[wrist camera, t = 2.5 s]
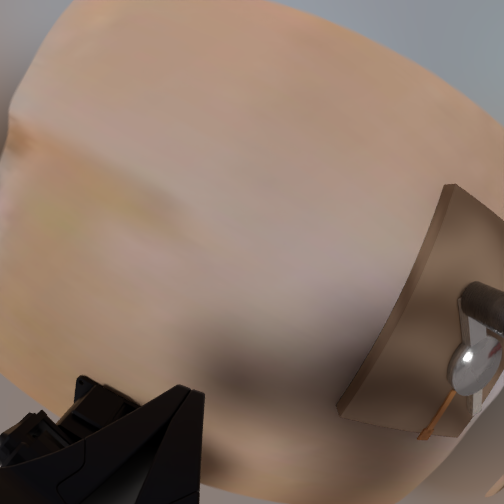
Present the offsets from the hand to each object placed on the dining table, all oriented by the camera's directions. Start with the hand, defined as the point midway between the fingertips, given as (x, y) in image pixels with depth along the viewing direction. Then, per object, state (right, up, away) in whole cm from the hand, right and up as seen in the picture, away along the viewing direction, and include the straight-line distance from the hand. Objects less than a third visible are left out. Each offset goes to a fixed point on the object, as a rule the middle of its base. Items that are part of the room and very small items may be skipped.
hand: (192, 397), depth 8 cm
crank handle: (+18, -3, +10) cm, 21 cm away
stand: (+18, -2, +11) cm, 21 cm away
